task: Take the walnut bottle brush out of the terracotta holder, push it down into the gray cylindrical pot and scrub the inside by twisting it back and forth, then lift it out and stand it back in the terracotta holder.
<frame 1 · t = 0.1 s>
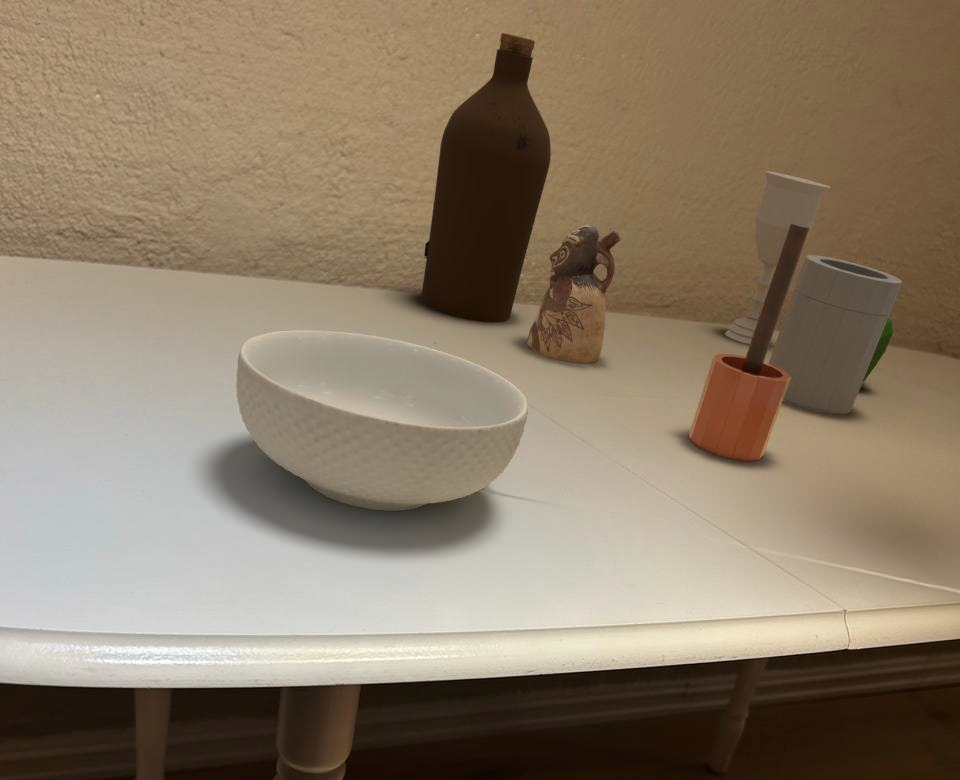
chalice: (743, 342, 124), on the table
olive oil: (464, 311, 108), on the table
brush: (725, 445, 84), resting on holder
holder: (723, 451, 84), on the table
gray cylindrical pot: (804, 401, 104), on the table
figurine: (560, 357, 100), on the table
bell pepper: (831, 382, 115), on the table
cereal bowl: (368, 487, 63), on the table
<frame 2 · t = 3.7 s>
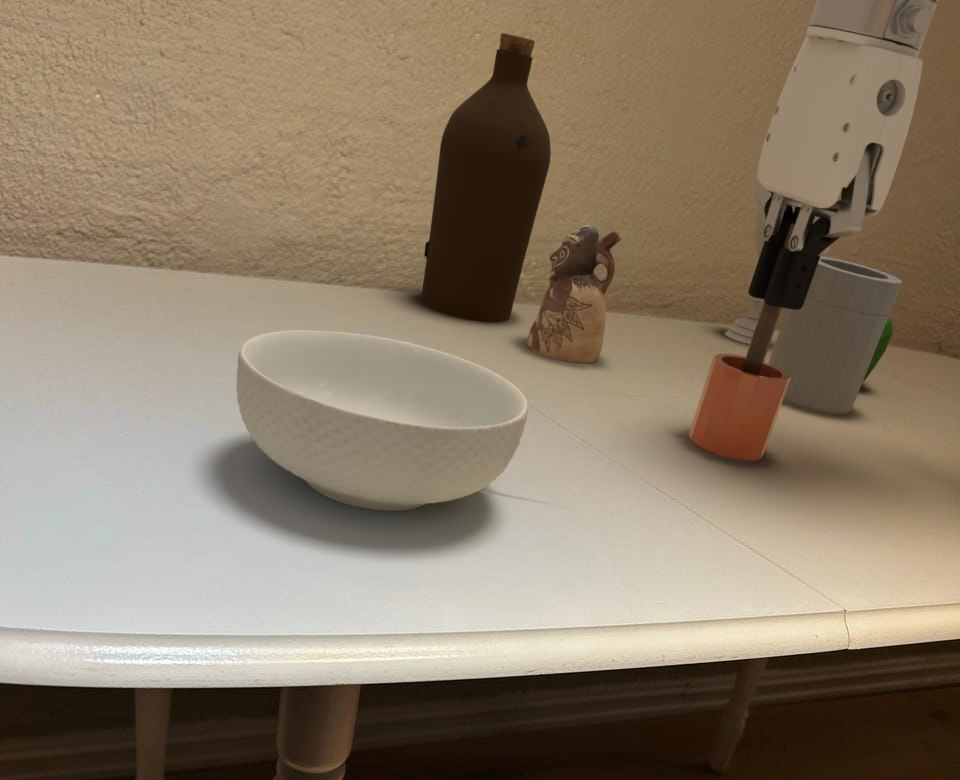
hand: (774, 301, 78), 12 cm above the table, tool pointing down, fingers closed on brush
brush: (725, 445, 84), resting on holder, touching gripper
everything else where it was.
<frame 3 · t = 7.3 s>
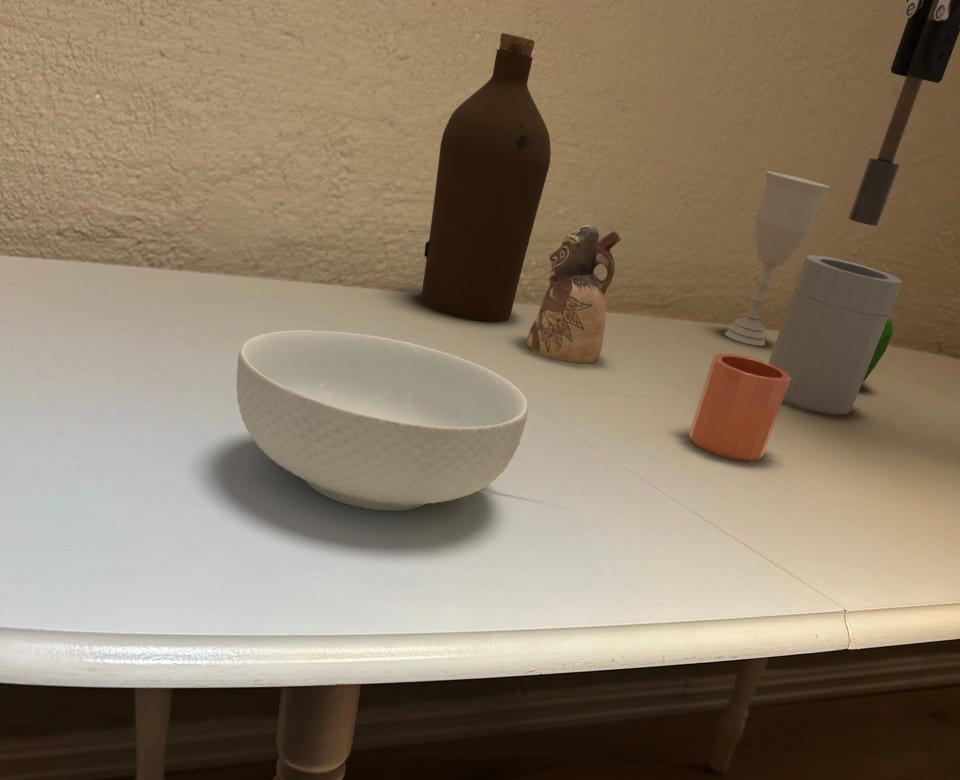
hand: (915, 76, 86), 29 cm above the table, tool pointing down, fingers closed on brush
brush: (862, 222, 92), point 17 cm above the table, touching gripper
everything else where it was.
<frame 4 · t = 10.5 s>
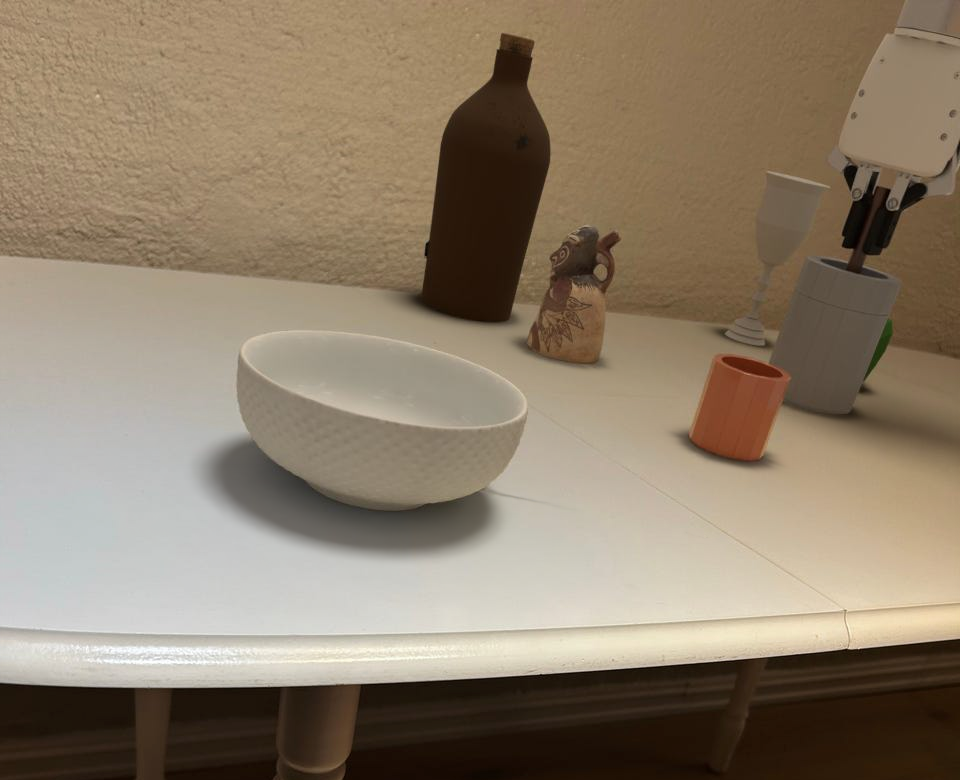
hand: (861, 250, 97), 15 cm above the table, tool pointing down, fingers closed on brush
brush: (816, 370, 102), point 3 cm above the table, touching gripper
everything else where it was.
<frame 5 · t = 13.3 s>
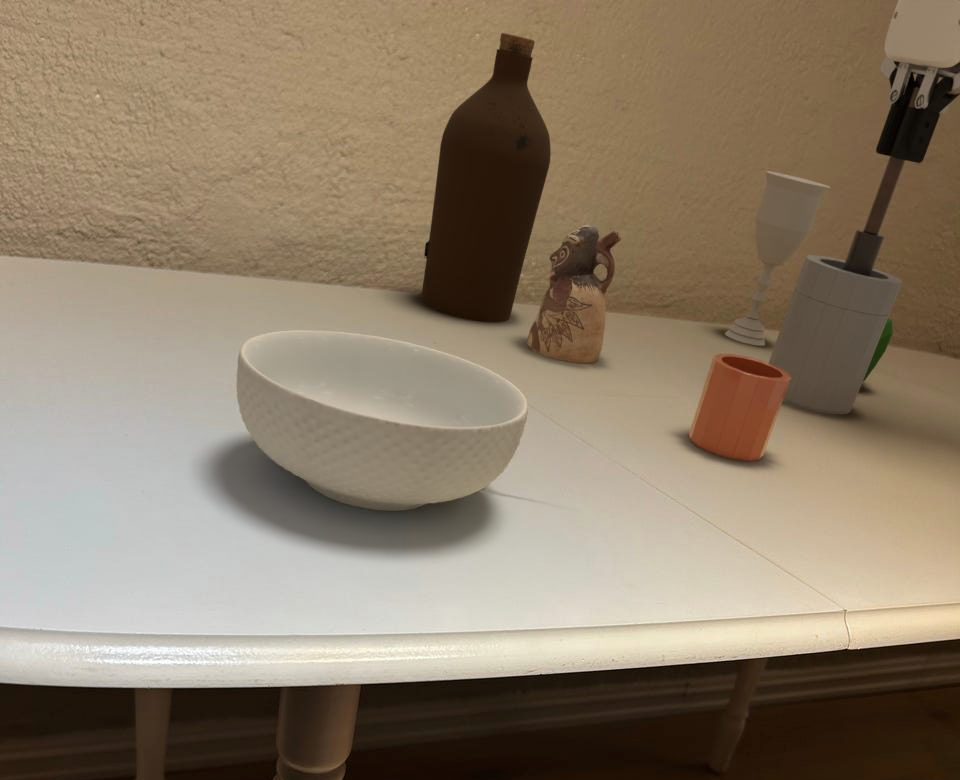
hand: (898, 156, 93), 23 cm above the table, tool pointing down, fingers closed on brush
brush: (850, 288, 98), point 11 cm above the table, touching gripper
everything else where it was.
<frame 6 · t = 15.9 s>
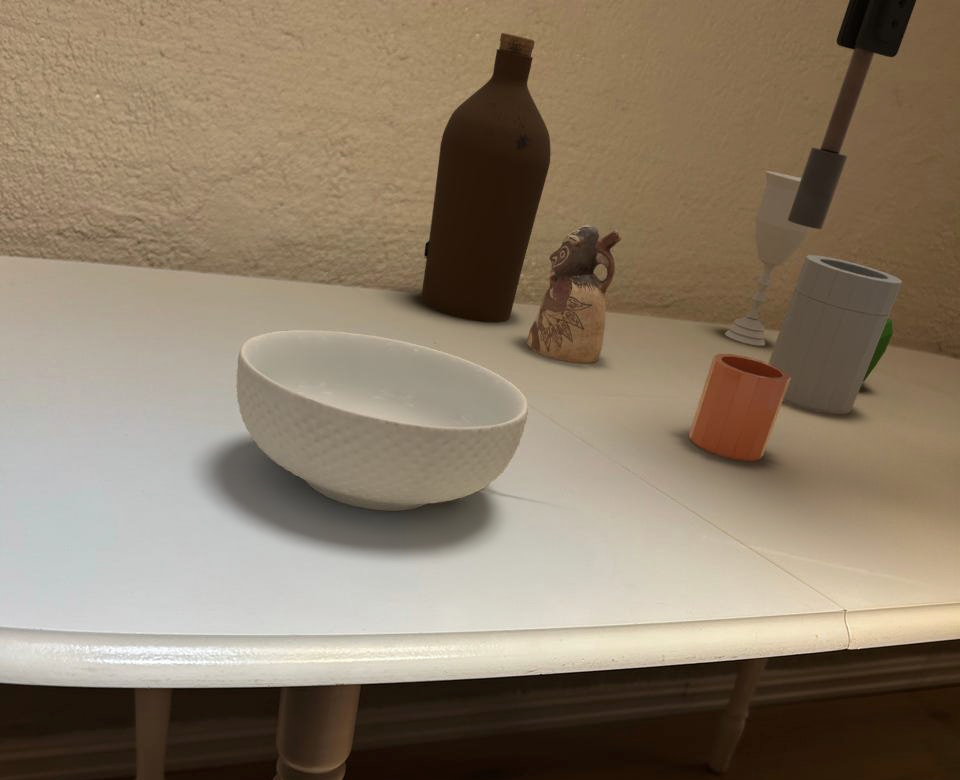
hand: (865, 49, 71), 29 cm above the table, tool pointing down, fingers closed on brush
brush: (804, 224, 77), point 17 cm above the table, touching gripper
everything else where it was.
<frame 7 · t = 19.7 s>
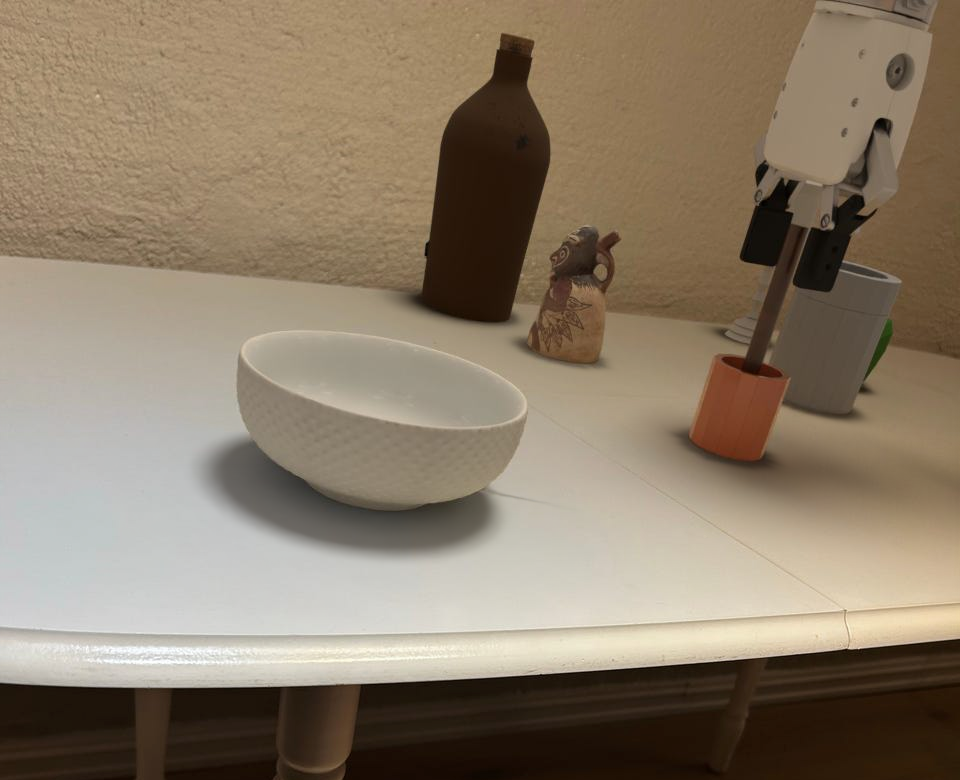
hand: (783, 273, 77), 14 cm above the table, tool pointing down, fingers open, 6 cm apart
brush: (725, 445, 84), resting on holder
everything else where it was.
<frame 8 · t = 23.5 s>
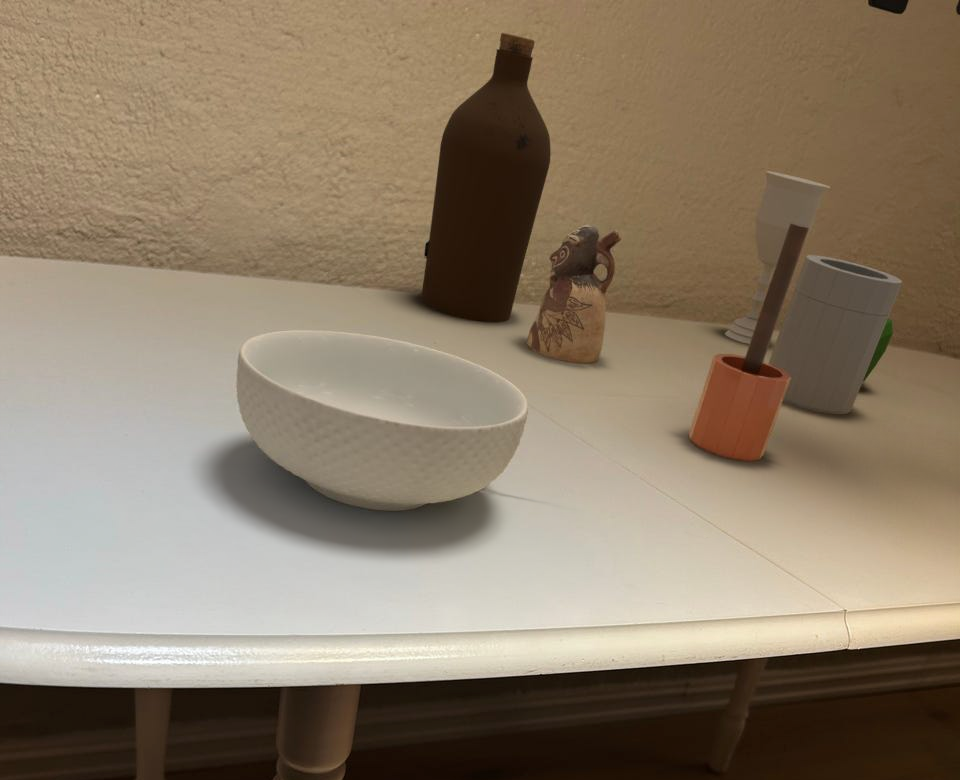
hand: (927, 14, 75), 32 cm above the table, tool pointing down, fingers open, 9 cm apart
nothing on the table moved.
at the end: brush 0.0 cm off-centre in the holder, point 0.5 cm above the holder's base; brush tilted 0°; brush touching holder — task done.
